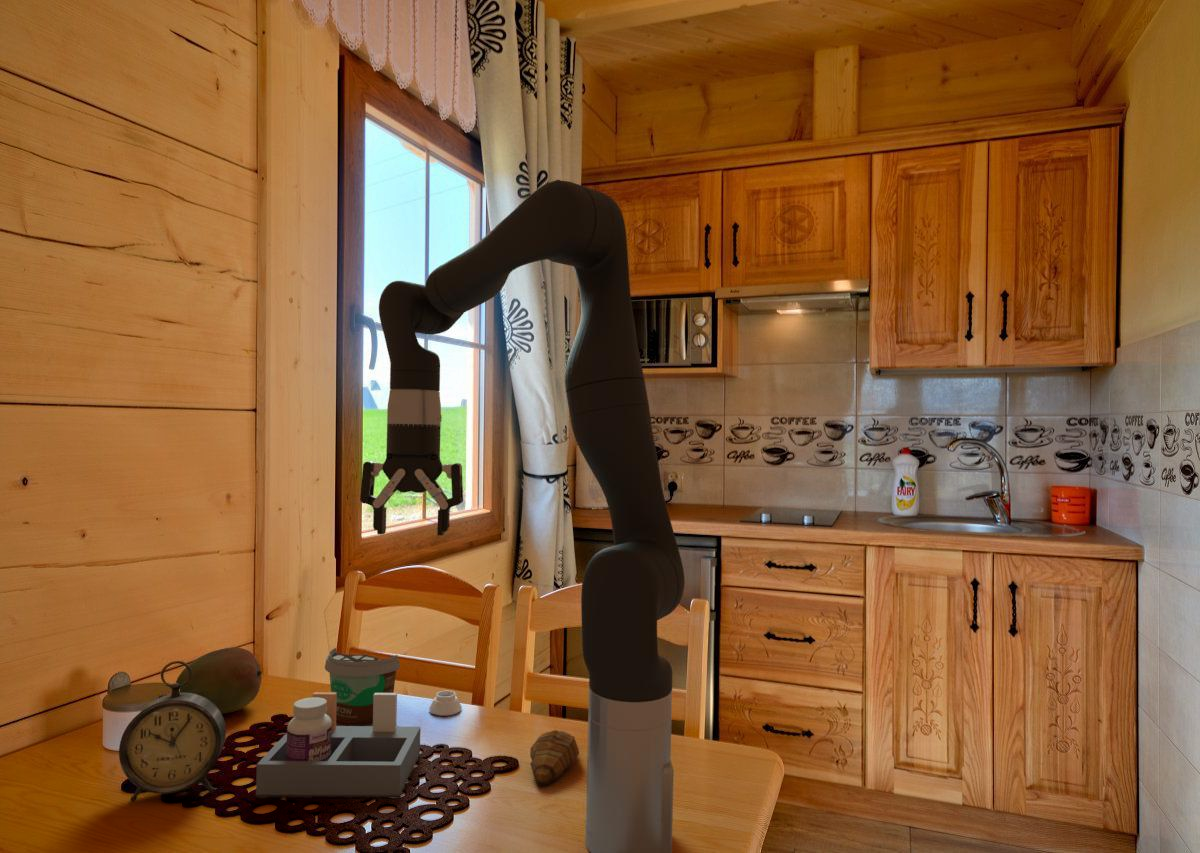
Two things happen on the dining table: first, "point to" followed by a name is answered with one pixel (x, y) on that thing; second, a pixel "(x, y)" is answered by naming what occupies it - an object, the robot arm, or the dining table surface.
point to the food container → (359, 684)
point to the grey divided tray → (347, 758)
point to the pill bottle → (309, 731)
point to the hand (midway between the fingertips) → (411, 534)
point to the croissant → (552, 756)
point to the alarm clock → (172, 742)
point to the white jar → (445, 704)
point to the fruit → (224, 678)
